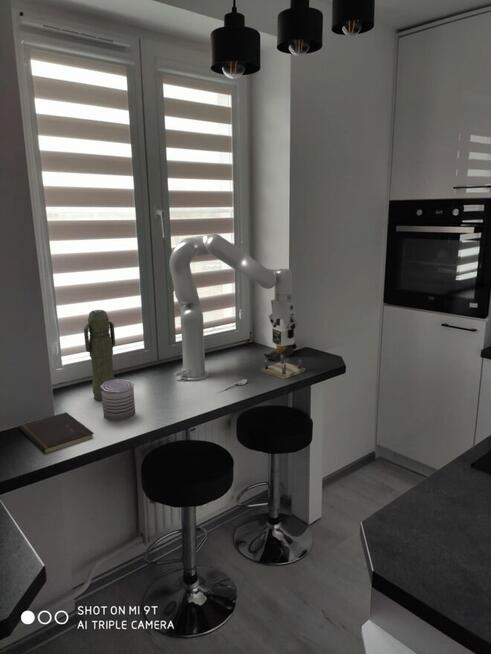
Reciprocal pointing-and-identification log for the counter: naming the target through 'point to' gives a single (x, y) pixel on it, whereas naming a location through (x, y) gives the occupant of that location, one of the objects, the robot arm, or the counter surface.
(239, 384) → the spoon
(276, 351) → the hammer
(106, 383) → the can
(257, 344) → the counter surface
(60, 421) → the hardcover book
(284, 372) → the peg stand
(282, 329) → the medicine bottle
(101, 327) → the dark green tall piece
